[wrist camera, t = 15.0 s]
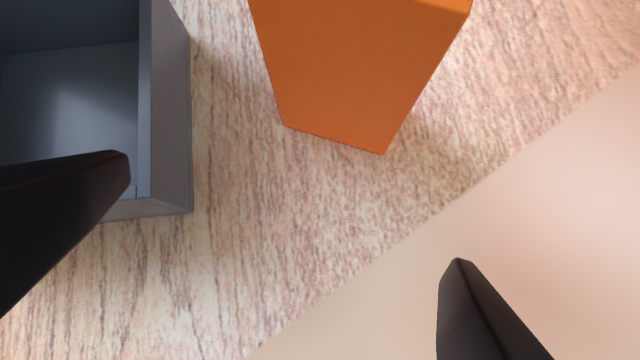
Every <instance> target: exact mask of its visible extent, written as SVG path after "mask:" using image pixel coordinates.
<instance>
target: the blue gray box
mask: <svg viewBox="0 0 640 360" xmlns="http://www.w3.org/2000/svg"><path fill="white" fill-rule="evenodd" d="M109 149H113V150H116V151H120V152H123V153H125V154H127V156H128V157H129V163H130V172H131V183H130V185H129V187H128V189H127V190H126V191H125V192H124V193H123V194H122V196H121V197H120V198H119V199H118V200H117V202H116V203H115V204H114V205H113V206H112V208H111V209H110V210H109V211H108V212H107V213H106V215H105V216H104V217H103V218H102V219H101V221H100V222H99V223H106V222H115V221H123V220H132V219H140V218H149V217H158V216H166V215H175V214H184V213H192V212H194V200H193V164H192V128H191V92H190V56H189V34H188V32H187V30H186V28H185V27H184V25H183V23H182V22H181V20H180V18H179V17H178V15H177V13H176V12H175V10H174V8H173V6H172V5H171V3H170V1H169V0H0V166H6V165H12V164H18V163H25V162H31V161H38V160H44V159H51V158H57V157H64V156H70V155H77V154H83V153H89V152H96V151H102V150H109Z"/></svg>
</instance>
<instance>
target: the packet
mask: <svg viewBox="0 0 640 360" xmlns="http://www.w3.org/2000/svg"><path fill="white" fill-rule="evenodd" d="M472 3H473V0H248V4H249V7H250V11H251V14H252V18H253V21H254V25H255V28H256V32H257V35H258V39H259V42H260V46H261V49H262V53H263V56H264V60H265V63H266V67H267V70H268V74H269V77H270V81H271V84H272V88H273V92H274V95H275V99H276V102H277V106H278V109H279V113H280V116H281V120H282V123H283V125H284V126H287V127H290V128H294V129H297V130H300V131H304V132H307V133H310V134H313V135H317V136H320V137H323V138H327V139H330V140H333V141H337V142H340V143H343V144H347V145H350V146H353V147H357V148H360V149H363V150H367V151H370V152H373V153H377V154H380V155H383V154H384V153H385V151H386V150H387V148H388V146H389V145H390V143H391V141H392V140H393V138H394V136H395V135H396V133H397V132H398V130H399V128H400V127H401V125H402V123H403V122H404V120H405V119H406V117H407V115H408V114H409V112H410V110H411V109H412V107H413V106H414V104H415V102H416V101H417V99H418V97H419V96H420V94H421V93H422V91H423V89H424V88H425V86H426V84H427V83H428V81H429V80H430V78H431V76H432V75H433V73H434V71H435V70H436V68H437V67H438V65H439V63H440V62H441V60H442V58H443V57H444V55H445V53H446V52H447V50H448V49H449V47H450V45H451V44H452V42H453V40H454V39H455V37H456V36H457V34H458V32H459V31H460V29H461V27H462V26H463V24H464V23H465V21H466V19H467V18H468V16H469V14H470V11H471V7H472Z"/></svg>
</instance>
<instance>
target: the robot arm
mask: <svg viewBox="0 0 640 360" xmlns="http://www.w3.org/2000/svg"><path fill="white" fill-rule="evenodd" d="M130 183H131V172H130V163H129V157H128V156H127V154H125V153H123V152H120V151H116V150H113V149H109V150H102V151H96V152H89V153H83V154H77V155H70V156H64V157H57V158H51V159H44V160H38V161H31V162H25V163H18V164H12V165H6V166H0V319H1V318H2V317H3V316H4V315H5V314H6V313H7V312H8V311H10V310H11V309H12V308H13V307H14V306H15V305H16V304H17V303H18V302H19V301H20V300H21V299H22V298H23V297H24V296H25V295H26V294H27V293H28V292H29V291H30V290H31V289H32V288H33V287H34V286H35V285H36V284H37V283H38V282H39V281H40V280H41V279H42V278H43V277H45V276H46V275H47V274H48V273H49V272H50V271H51V270H52V269H53V268H54V267H55V266H56V265H57V264H58V263H59V262H60V261H61V260H62V259H63V258H64V257H65V256H66V255H67V254H68V253H69V252H70V251H71V250H72V249H73V248H74V247H75V246H76V245H77V244H78V243H80V242H81V241H82V240H83V239H84V238H85V237H86V236H87V235H88V234H89V233H90V232H91V231H92V230H93V229H94V227H95V226H96V225H97V224H98V223H99V222H100V221H101V219H102V218H103V217H104V216H105V215H106V213H107V212H108V211H109V210H110V209H111V208H112V206H113V205H114V204H115V203H116V202H117V200H118V199H119V198H120V197H121V196H122V194H123V193H124V192H125V191H126V190H127V189H128V187H129V185H130ZM436 352H437V360H554V359H553V357H552V356H551V355H550V354H549V353H548V351H547V350H546V349H545V348H544V347H543V345H542V344H541V343H540V342H539V341H538V339H537V338H536V337H535V336H534V335H533V334H532V332H531V331H530V330H529V329H528V328H527V326H526V325H525V324H524V323H523V322H522V321H521V319H520V318H519V317H518V316H517V315H516V313H515V312H514V311H513V310H512V309H511V307H509V305H508V304H507V303H506V301H505V300H504V299H503V298H502V297H501V296H500V294H499V293H498V292H497V291H496V290H495V289H494V287H493V286H492V285H491V284H490V282H489V281H488V280H487V279H486V278H485V277H484V275H483V274H482V273H481V272H480V271H479V269H478V268H477V267H476V266H475V265H474V264H473V263H472V262H470V261H468V260H464V259H461V258H454V259H453V260H452V261H451V263H450V265H449V266H448V268H447V269H446V271H445V273H444V274H443V276H442V278H441V280H440V283H439V290H438V311H437V331H436Z"/></svg>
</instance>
